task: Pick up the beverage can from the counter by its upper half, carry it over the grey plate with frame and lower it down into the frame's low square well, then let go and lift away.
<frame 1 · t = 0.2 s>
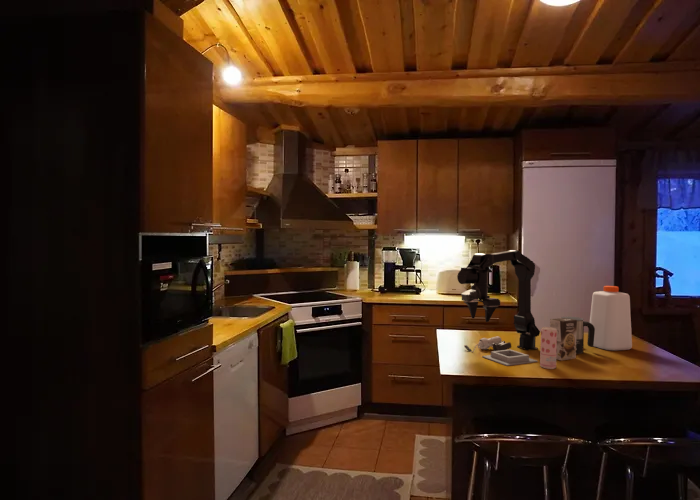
hand: (479, 320, 196), 15 cm above the worktop, tool pointing down, fingers open, 9 cm apart
clip-on lamp: (486, 351, 202), on the worktop
beverage can: (547, 367, 178), on the worktop
milk frother: (571, 350, 208), on the worktop
grey plate with frame: (509, 359, 189), on the worktop
coffee box: (562, 358, 193), on the worktop
plastic bottle: (609, 347, 214), on the worktop
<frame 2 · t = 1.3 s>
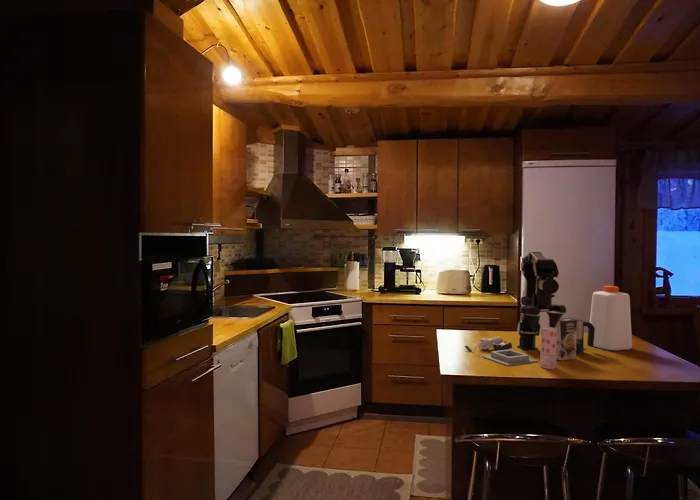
hand: (543, 331, 179), 13 cm above the worktop, tool pointing down, fingers open, 9 cm apart
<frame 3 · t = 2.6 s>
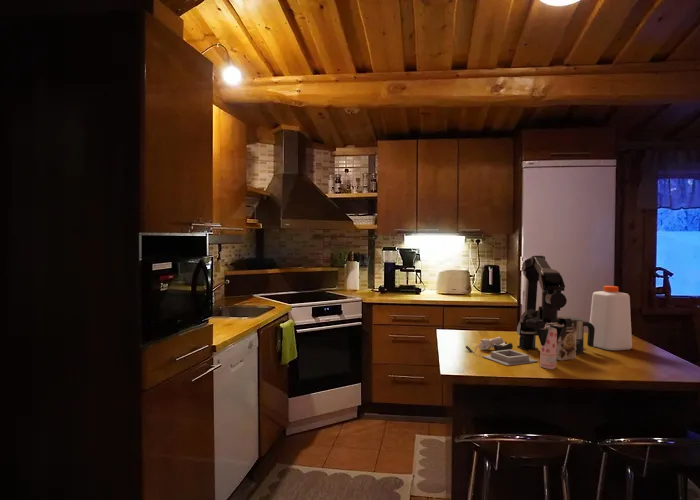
hand: (548, 344, 178), 9 cm above the worktop, tool pointing down, fingers closed on beverage can, 6 cm apart
beverage can: (547, 367, 178), on the worktop, touching gripper
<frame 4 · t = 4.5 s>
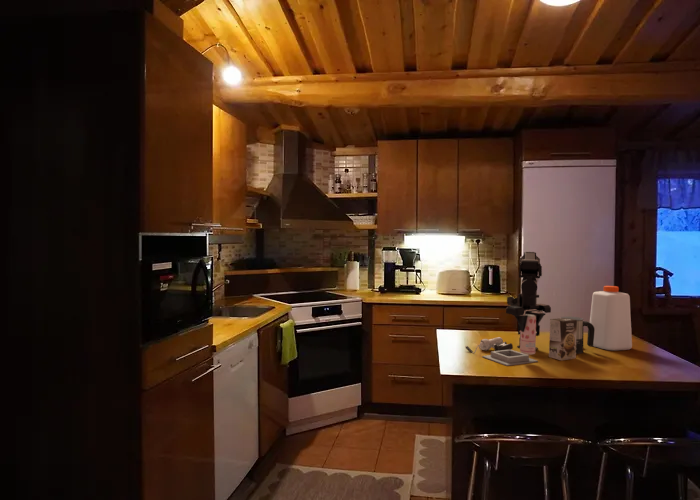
hand: (528, 331, 183), 13 cm above the worktop, tool pointing down, fingers closed on beverage can, 6 cm apart
beverage can: (527, 353, 184), point 4 cm above the worktop, touching gripper
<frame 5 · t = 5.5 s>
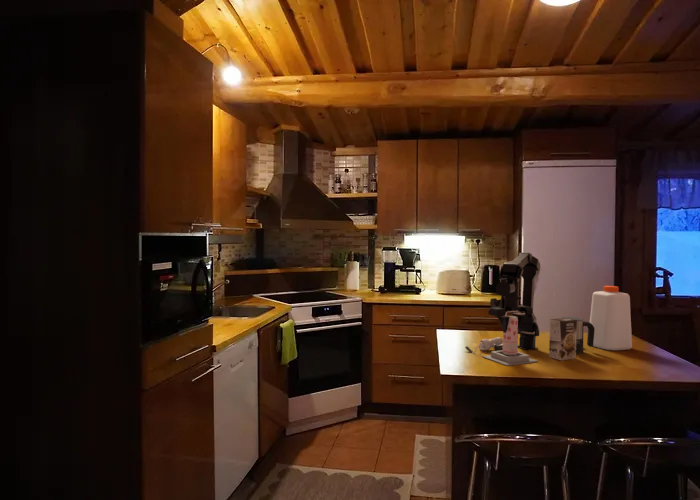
hand: (510, 331, 188), 11 cm above the worktop, tool pointing down, fingers closed on beverage can, 6 cm apart
beverage can: (509, 353, 189), point 2 cm above the worktop, touching gripper
when the fingers open (9 cm above the worktop, at t = 6.3 s): beverage can stays where it is, resting on grey plate with frame.
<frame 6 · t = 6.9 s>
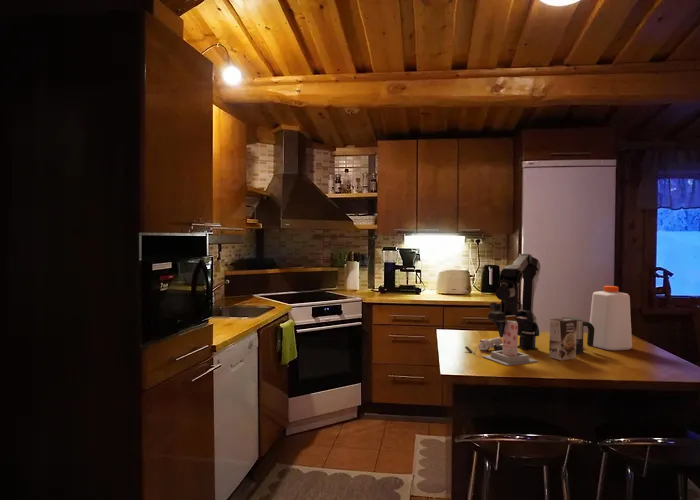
hand: (510, 336, 188), 9 cm above the worktop, tool pointing down, fingers open, 9 cm apart
beverage can: (509, 358, 189), resting on grey plate with frame
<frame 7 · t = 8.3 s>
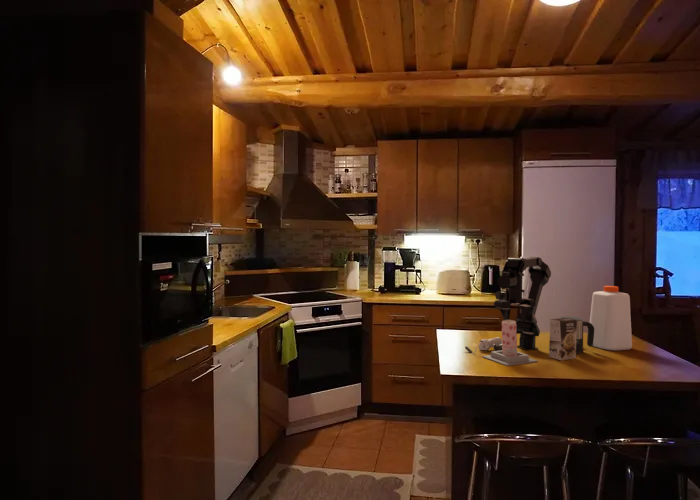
hand: (514, 323, 199), 13 cm above the worktop, tool pointing down, fingers open, 9 cm apart
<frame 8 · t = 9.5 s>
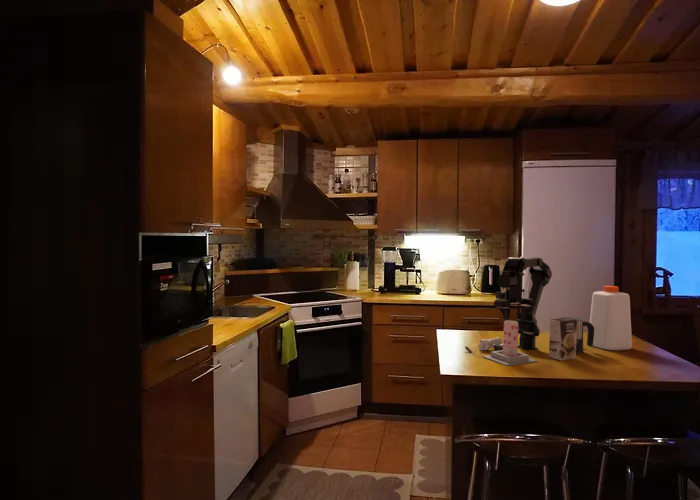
hand: (514, 322, 200), 13 cm above the worktop, tool pointing down, fingers open, 9 cm apart
at the end: beverage can 0.1 cm off-centre on the grey plate with frame, point 0.3 cm above the grey plate with frame's base; beverage can tilted 1°; the gripper is holding nothing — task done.
